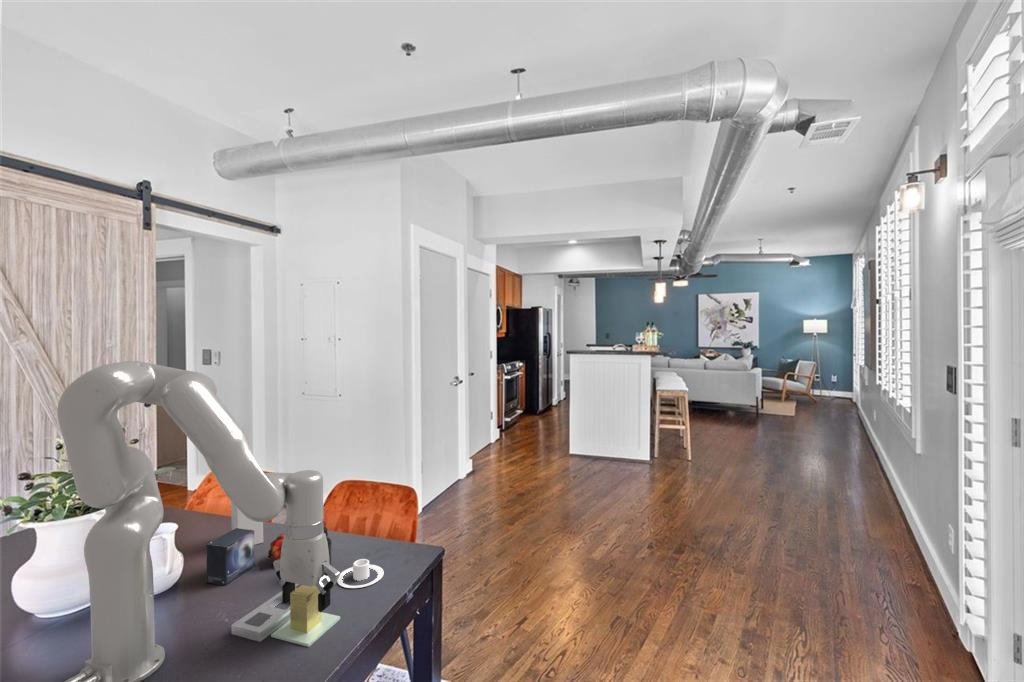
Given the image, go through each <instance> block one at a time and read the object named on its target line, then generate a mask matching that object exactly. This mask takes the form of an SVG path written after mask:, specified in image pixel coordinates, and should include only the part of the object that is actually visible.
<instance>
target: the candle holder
mask: <svg viewBox="0 0 1024 682" xmlns="http://www.w3.org/2000/svg"><path fill="white" fill-rule="evenodd" d="M369 568H370V569H369ZM371 569H373V570H372V571H374V570H375V571H376V572H377V573H376V575H377V574H378V575H377V576H376V577H377V578H376V577H375V578H374V579H373V580H372V581H370V582H368V583H365V584H359V585H351V584H350V585H349V584H346V583H345V582H344V578H343V576H344V575H345V574H346V573H348V572H350V571H352V577H353V580H354V581H356V580H357V581H356V582H361V580H363V581H365V580H364V579H366V580H367V579H369V578H370V575H371V574H370V570H371ZM375 571H374V572H375ZM350 573H351V572H350ZM384 573H385V572H384V569H383V568H382V567H380V566H379V565H376V564H370V560H369V559H367V558H359V559H357V560H355V561H354V562H353V563H352V567H349V568H347V569H344V570H342V571H341V573H340V576H339V578H338V580H337V583H336V584H338V586H340V587H343V588H345V589H346V588H347V589H359V588H360V589H361V588H364V587H365V588H366V587H369V586H371V585H374V584H375V583H377V582H379V581H380V580H381V579H382V578H383V577H384ZM348 574H349V573H348ZM345 576H346V575H345ZM368 577H369V578H368ZM342 579H343V580H342ZM343 582H344V583H343Z"/></svg>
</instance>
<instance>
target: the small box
mask: <svg viewBox="0 0 1024 682" xmlns="http://www.w3.org/2000/svg"><path fill="white" fill-rule="evenodd" d="M252 568H255V545H254V530H247V529H240V528H235V529H234V530H232V529H231V530H230V531H228V532H225V534H223V535H220V536H219V537H217V538H215V539H213V540H211V541H209V542H208V543H206V583H207V584H212V585H213V584H214V585H221V586H227V585H229V584H230V583H231V582H233V581H234V580H236V579H238V578H239V577H240V576H242V575H243V574H245V573H247V572H248V571H249V570H251V569H252Z"/></svg>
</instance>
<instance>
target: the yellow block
mask: <svg viewBox="0 0 1024 682" xmlns="http://www.w3.org/2000/svg"><path fill="white" fill-rule="evenodd" d="M319 593H320V591H319V590H318V588H317V586H316V585H315V586H306V585H301V586H300V587H298V588H297V589H295V590H294V591H293V592H291V593H290V601H289V604H290V605H289V607H290V616H291V629H293V630H297V631H301V632H304V633H308V632H309V631H310V630H312V629H313V628H314V627H315V626H316V625H318V624H319V623H320V622H321V621H322V612H323V611H322V612H319V611H318V594H319Z"/></svg>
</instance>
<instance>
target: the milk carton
mask: <svg viewBox="0 0 1024 682" xmlns="http://www.w3.org/2000/svg"><path fill="white" fill-rule="evenodd" d="M230 513H231V516H230V518H231V531H232V530H234V529H235V528H240V529H247V530H254V546H255V545H259V544H262V543H264V522H255V521H252V520H250V519H249V518H247V517H246V516H245V515H244V514H243V513H242V512H241V511H240V510H239V509H238V508H237V507H236V505H235V504H234V503H233V502H232V501H231V500H230Z"/></svg>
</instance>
